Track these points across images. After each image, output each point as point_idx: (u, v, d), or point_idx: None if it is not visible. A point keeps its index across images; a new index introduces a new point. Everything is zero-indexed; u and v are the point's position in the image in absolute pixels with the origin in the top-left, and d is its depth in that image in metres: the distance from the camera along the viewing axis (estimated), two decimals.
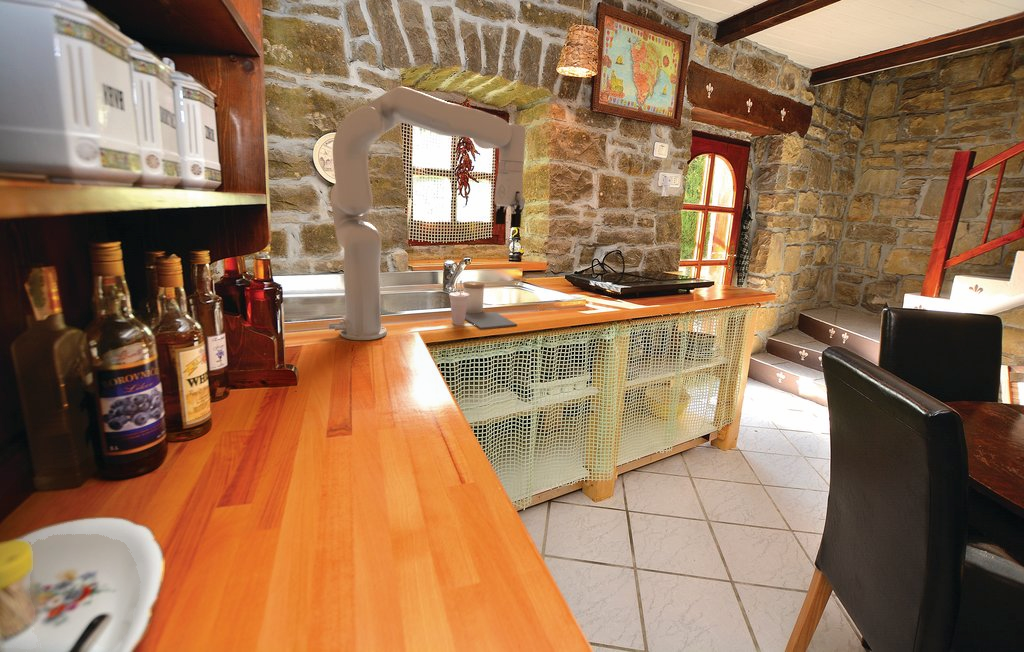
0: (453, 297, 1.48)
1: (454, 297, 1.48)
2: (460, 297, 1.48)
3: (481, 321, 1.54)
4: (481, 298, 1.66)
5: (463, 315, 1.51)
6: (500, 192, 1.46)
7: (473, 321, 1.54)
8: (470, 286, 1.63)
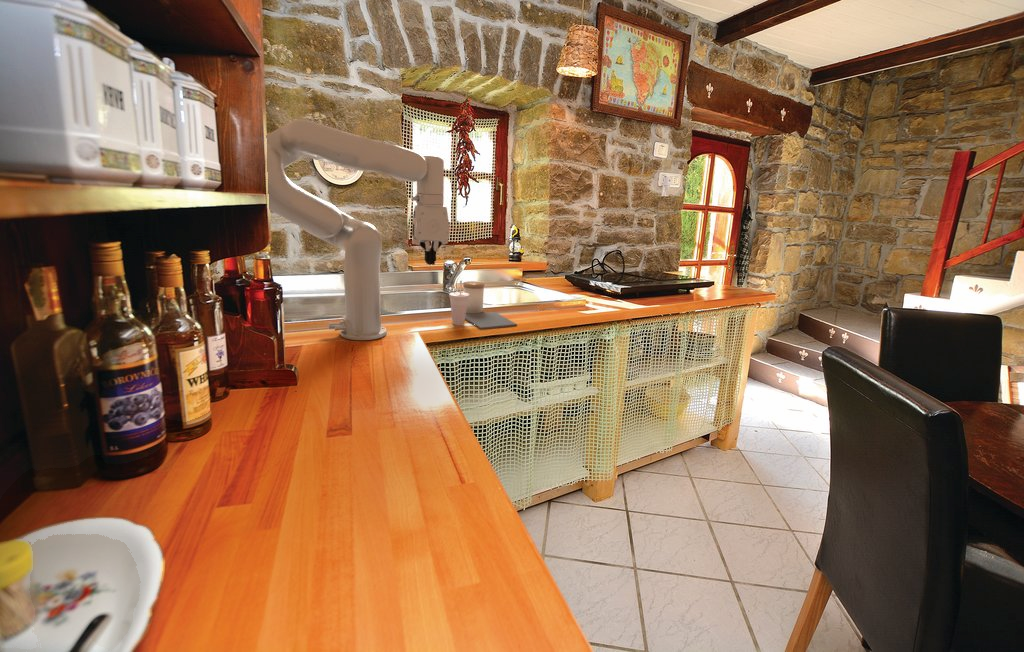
0: (453, 297, 1.48)
1: (454, 297, 1.48)
2: (460, 297, 1.48)
3: (481, 321, 1.54)
4: (481, 298, 1.66)
5: (463, 315, 1.51)
6: (431, 227, 1.37)
7: (473, 321, 1.54)
8: (470, 286, 1.63)
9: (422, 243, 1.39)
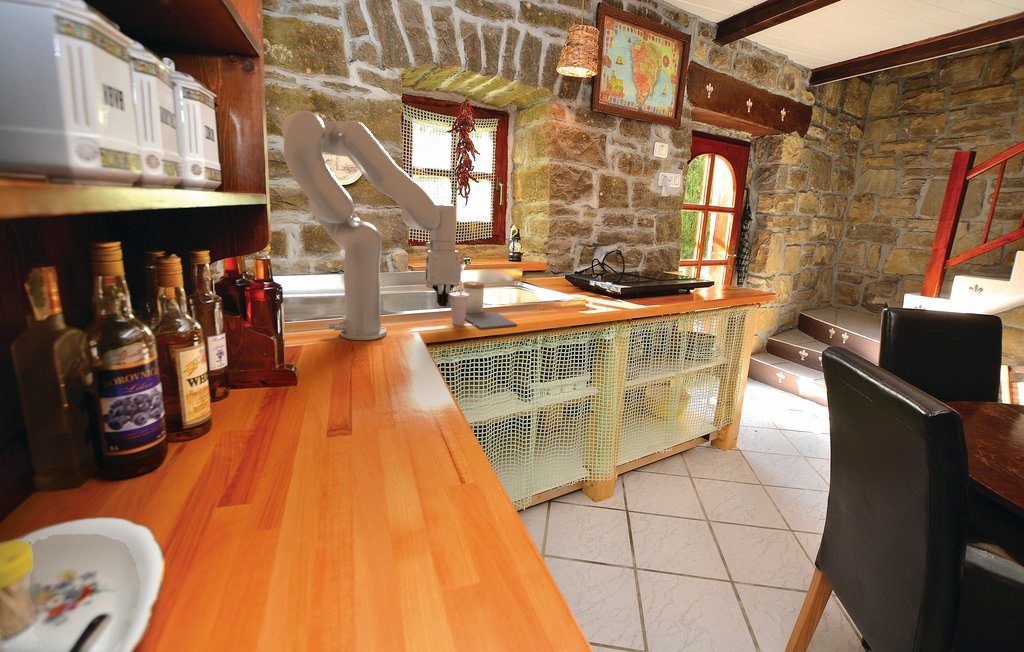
0: (453, 297, 1.48)
1: (454, 297, 1.48)
2: (460, 297, 1.48)
3: (481, 321, 1.54)
4: (481, 298, 1.66)
5: (463, 315, 1.51)
6: (443, 271, 1.43)
7: (473, 321, 1.54)
8: (470, 286, 1.63)
9: (435, 286, 1.45)
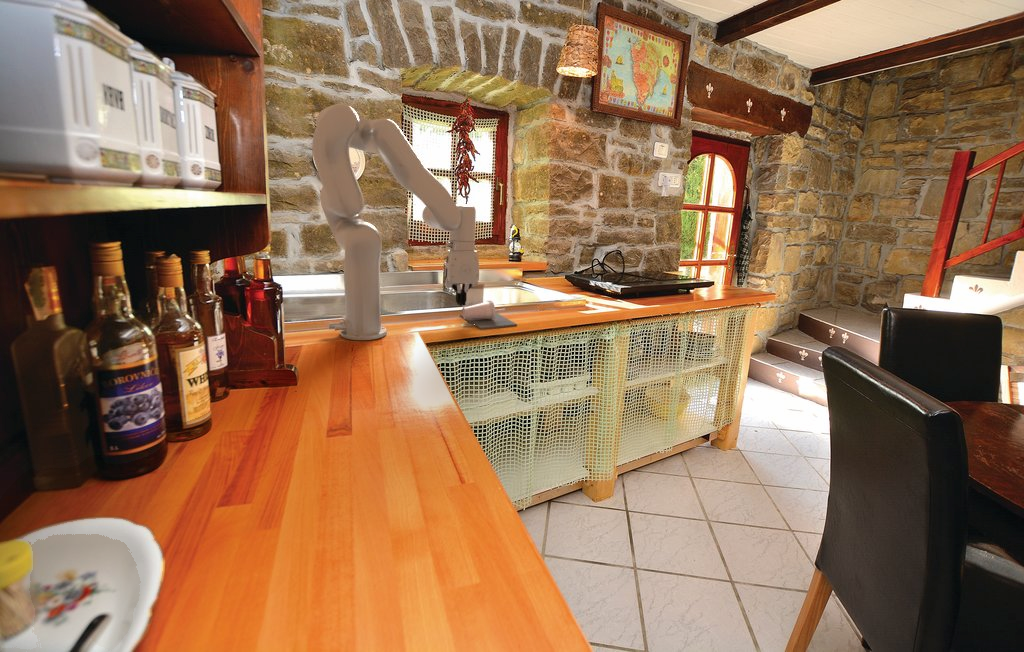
0: (491, 303, 1.55)
1: (492, 303, 1.55)
2: (494, 309, 1.54)
3: (481, 321, 1.54)
4: (481, 298, 1.66)
5: (475, 315, 1.53)
6: (463, 271, 1.46)
7: (473, 321, 1.54)
8: None
9: (454, 286, 1.48)
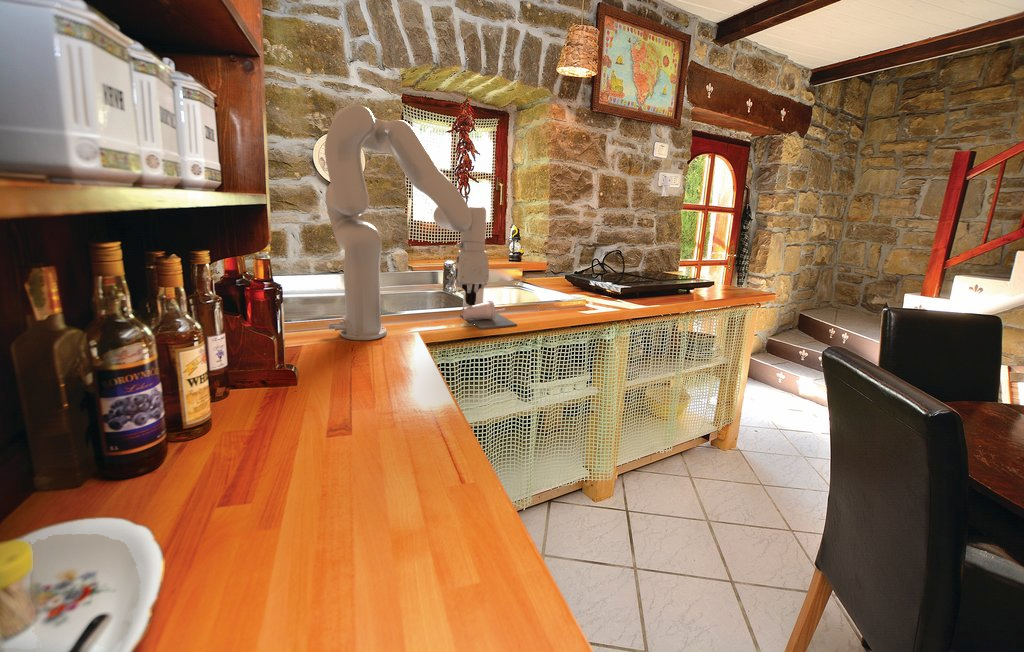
0: (491, 303, 1.55)
1: (492, 304, 1.55)
2: (494, 309, 1.54)
3: (481, 321, 1.54)
4: (481, 298, 1.66)
5: (475, 315, 1.53)
6: (473, 271, 1.48)
7: (473, 321, 1.54)
8: None
9: (464, 286, 1.49)
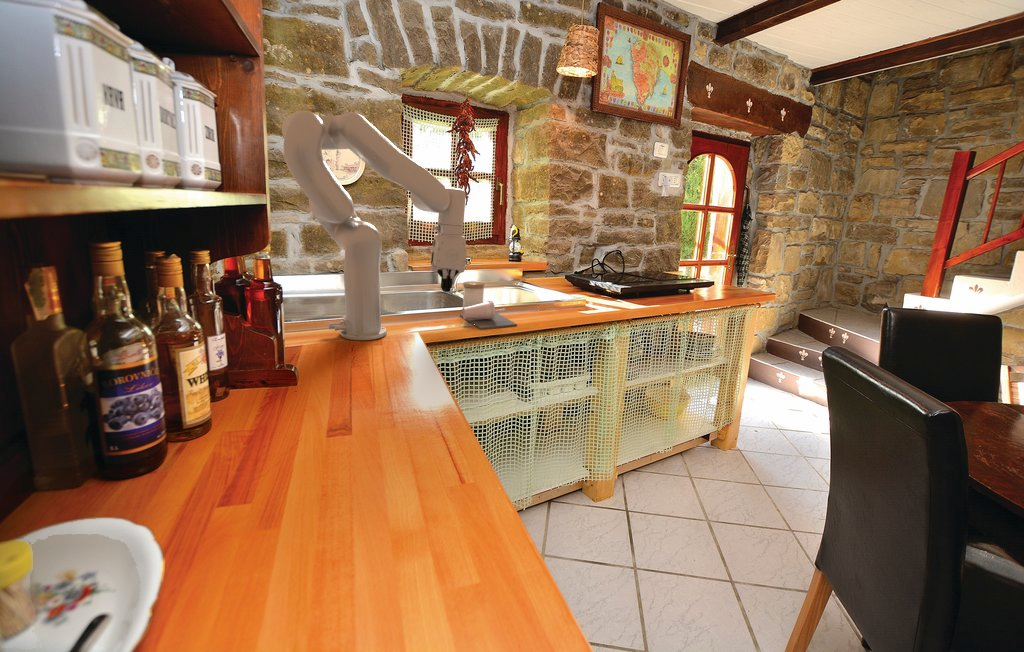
0: (491, 303, 1.55)
1: (492, 304, 1.55)
2: (494, 309, 1.54)
3: (481, 321, 1.54)
4: (481, 298, 1.66)
5: (475, 315, 1.53)
6: (449, 256, 1.42)
7: (473, 321, 1.54)
8: (470, 286, 1.63)
9: (440, 271, 1.44)
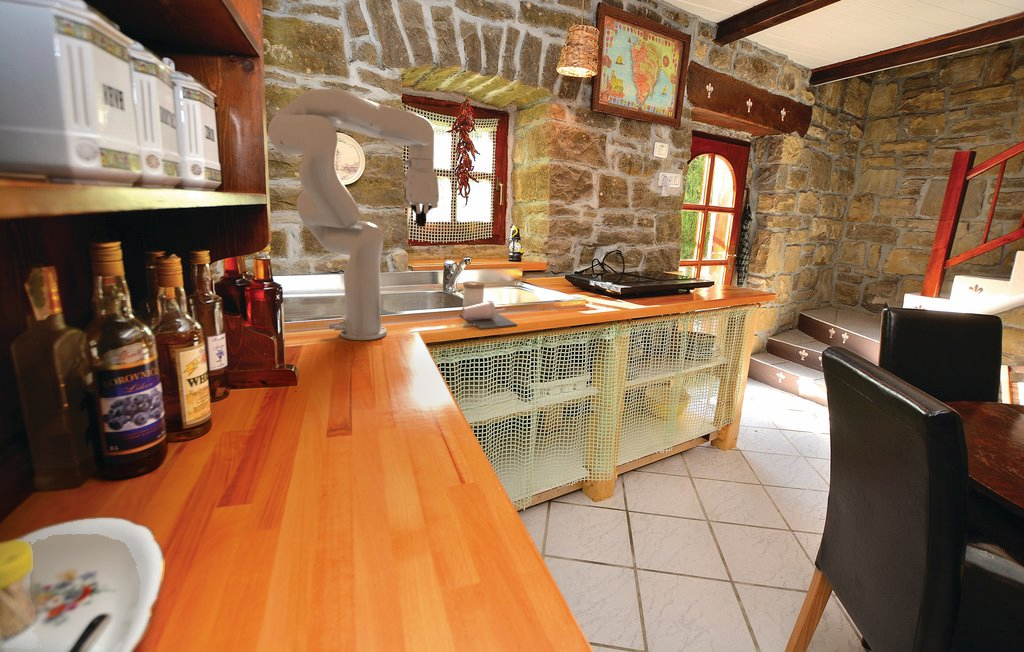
0: (491, 303, 1.55)
1: (492, 304, 1.55)
2: (494, 309, 1.54)
3: (481, 321, 1.54)
4: (481, 298, 1.66)
5: (475, 315, 1.53)
6: (421, 190, 1.47)
7: (473, 321, 1.54)
8: (470, 286, 1.63)
9: (413, 206, 1.49)
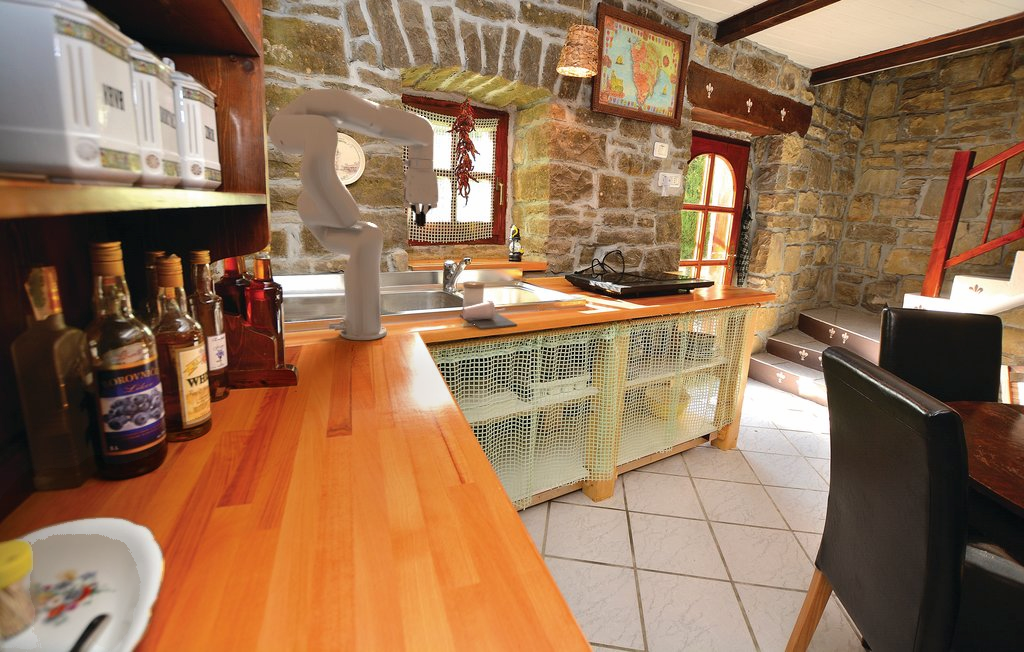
0: (491, 303, 1.55)
1: (492, 304, 1.55)
2: (494, 309, 1.54)
3: (481, 321, 1.54)
4: (481, 298, 1.66)
5: (475, 315, 1.53)
6: (421, 190, 1.47)
7: (473, 321, 1.54)
8: (470, 286, 1.63)
9: (413, 206, 1.49)
